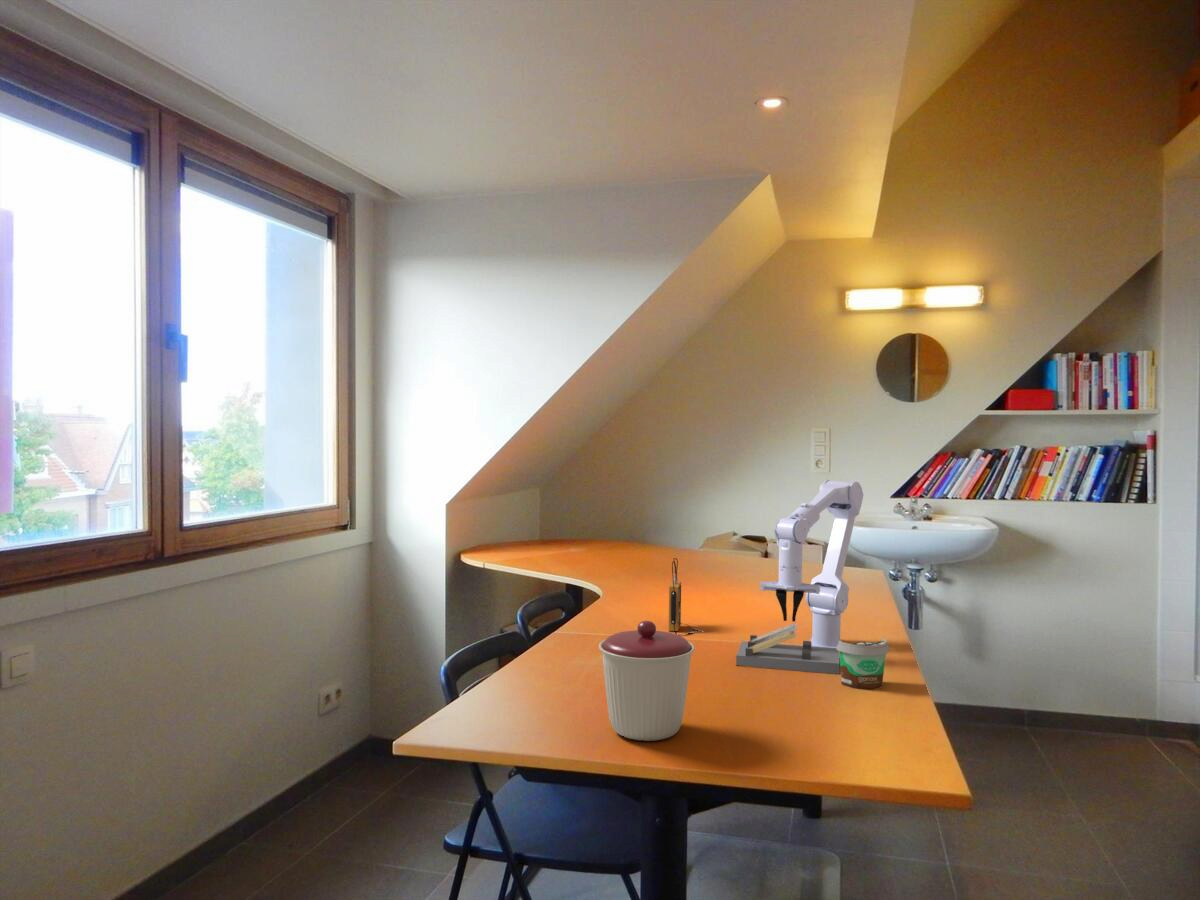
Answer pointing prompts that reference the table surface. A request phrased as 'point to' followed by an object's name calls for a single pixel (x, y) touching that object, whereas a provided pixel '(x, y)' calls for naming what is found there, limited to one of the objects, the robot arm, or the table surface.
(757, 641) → the bar
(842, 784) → the table surface
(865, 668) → the food container
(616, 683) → the canister
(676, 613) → the riveted handle with loop
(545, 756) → the table surface
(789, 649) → the mounting plate
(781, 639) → the bar
